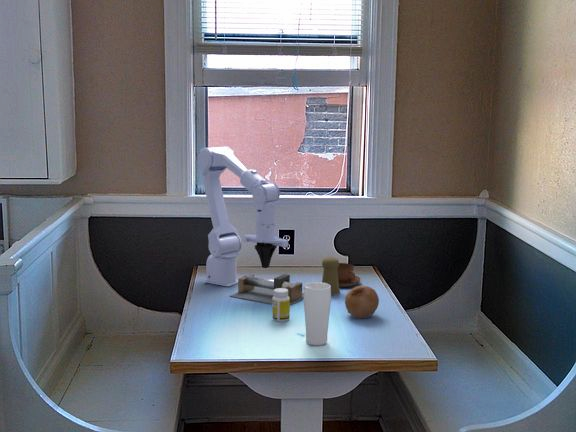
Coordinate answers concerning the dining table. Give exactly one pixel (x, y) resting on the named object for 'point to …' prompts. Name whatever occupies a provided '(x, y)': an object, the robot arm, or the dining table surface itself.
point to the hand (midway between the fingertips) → (265, 267)
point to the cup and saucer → (346, 275)
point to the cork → (331, 274)
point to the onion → (361, 301)
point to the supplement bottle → (280, 305)
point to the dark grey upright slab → (281, 280)
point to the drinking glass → (317, 312)
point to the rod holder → (269, 286)
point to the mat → (260, 295)
